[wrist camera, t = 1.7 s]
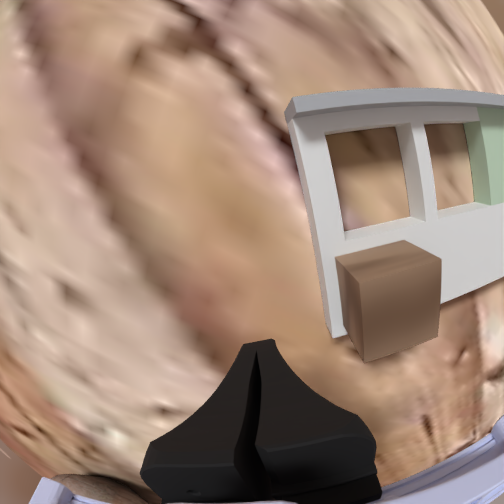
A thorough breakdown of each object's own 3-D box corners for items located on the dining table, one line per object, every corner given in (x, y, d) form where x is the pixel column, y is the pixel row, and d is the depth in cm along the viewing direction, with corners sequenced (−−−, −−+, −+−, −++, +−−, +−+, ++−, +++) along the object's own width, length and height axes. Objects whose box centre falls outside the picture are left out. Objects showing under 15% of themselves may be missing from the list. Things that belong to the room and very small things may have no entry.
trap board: (520, 254, 18) (545, 265, 14) (325, 323, 19) (338, 351, 16) (508, 104, 14) (534, 101, 11) (284, 112, 15) (292, 97, 12)
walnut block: (406, 306, 16) (437, 336, 13) (343, 325, 17) (364, 363, 13) (403, 239, 15) (441, 258, 11) (334, 256, 16) (359, 282, 12)
